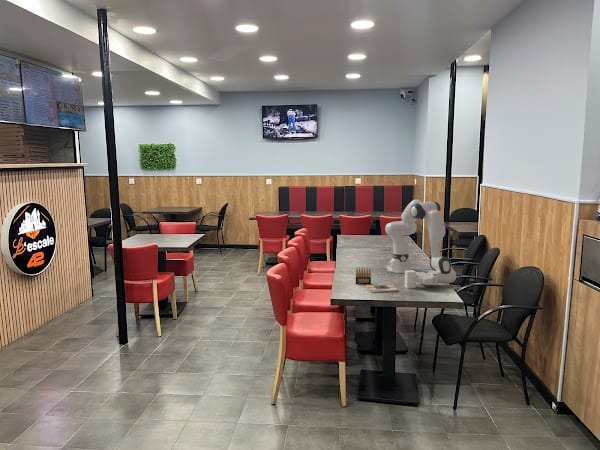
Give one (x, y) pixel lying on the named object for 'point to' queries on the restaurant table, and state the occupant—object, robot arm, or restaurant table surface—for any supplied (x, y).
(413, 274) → the block
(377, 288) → the header board
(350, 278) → the restaurant table surface
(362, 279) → the ammunition clip
